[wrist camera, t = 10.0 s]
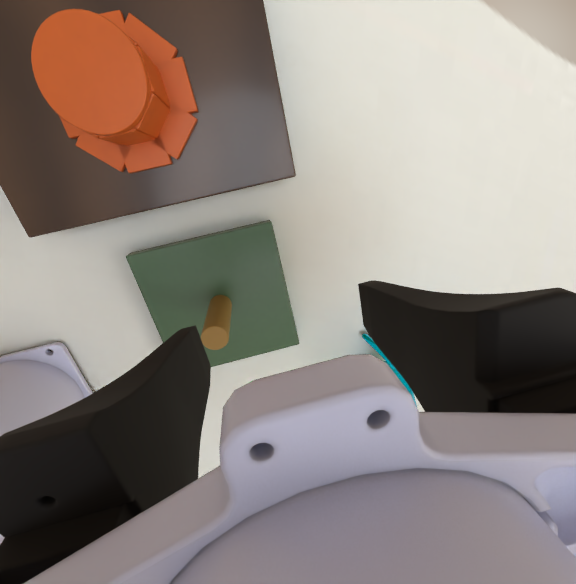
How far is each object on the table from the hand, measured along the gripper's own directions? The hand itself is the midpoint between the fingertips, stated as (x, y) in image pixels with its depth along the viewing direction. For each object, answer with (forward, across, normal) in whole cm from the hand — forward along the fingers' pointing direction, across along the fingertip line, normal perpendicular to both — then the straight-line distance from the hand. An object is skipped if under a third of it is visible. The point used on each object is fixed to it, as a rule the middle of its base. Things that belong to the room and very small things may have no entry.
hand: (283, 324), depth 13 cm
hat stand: (+10, +4, +2) cm, 11 cm away
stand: (+10, +5, -11) cm, 16 cm away
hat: (+8, +5, -11) cm, 14 cm away
